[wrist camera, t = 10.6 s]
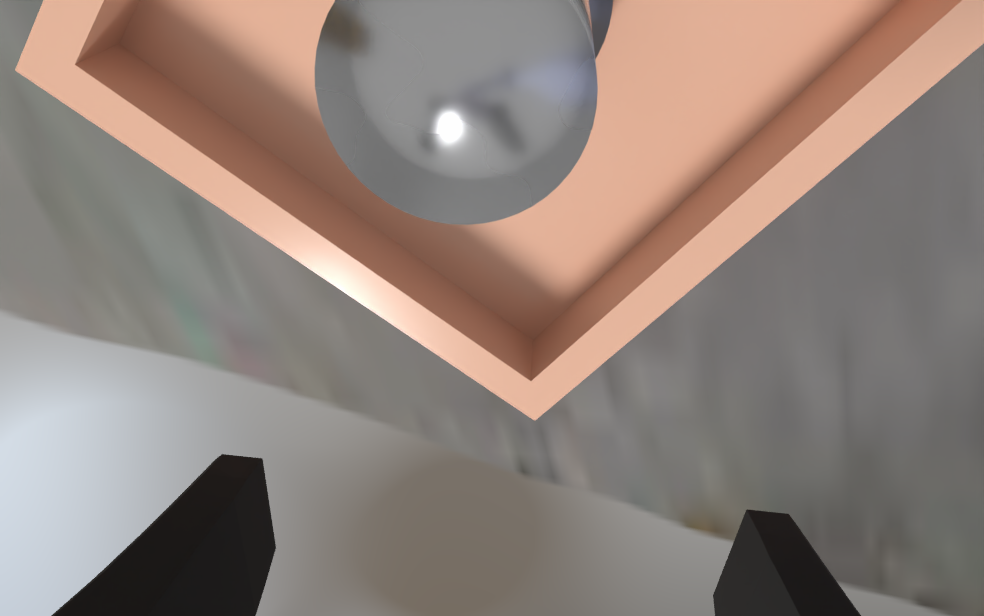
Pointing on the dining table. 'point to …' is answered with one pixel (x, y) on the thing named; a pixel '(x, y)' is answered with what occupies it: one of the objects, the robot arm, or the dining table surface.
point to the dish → (555, 219)
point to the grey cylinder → (460, 99)
